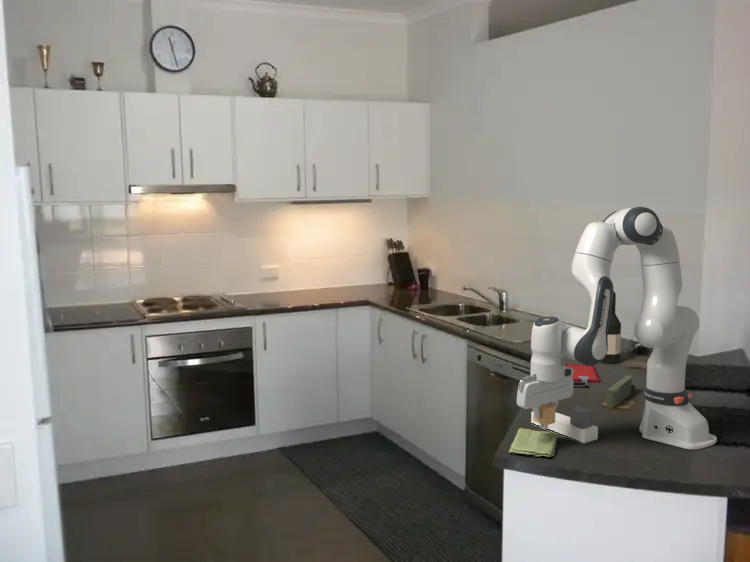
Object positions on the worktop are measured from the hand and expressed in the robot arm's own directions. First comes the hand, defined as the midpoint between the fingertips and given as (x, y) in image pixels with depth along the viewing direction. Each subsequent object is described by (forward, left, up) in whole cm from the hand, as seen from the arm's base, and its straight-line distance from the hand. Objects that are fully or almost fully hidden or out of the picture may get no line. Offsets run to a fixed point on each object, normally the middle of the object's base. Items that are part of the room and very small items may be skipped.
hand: (544, 416), depth 223 cm
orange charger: (0, 0, -4) cm, 4 cm away
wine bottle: (+49, -90, -9) cm, 103 cm away
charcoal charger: (-3, -13, -7) cm, 15 cm away
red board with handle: (+42, -63, -10) cm, 76 cm away
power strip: (+4, -13, -9) cm, 16 cm away
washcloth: (+1, +3, -10) cm, 10 cm away
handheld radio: (+15, -54, -9) cm, 57 cm away
